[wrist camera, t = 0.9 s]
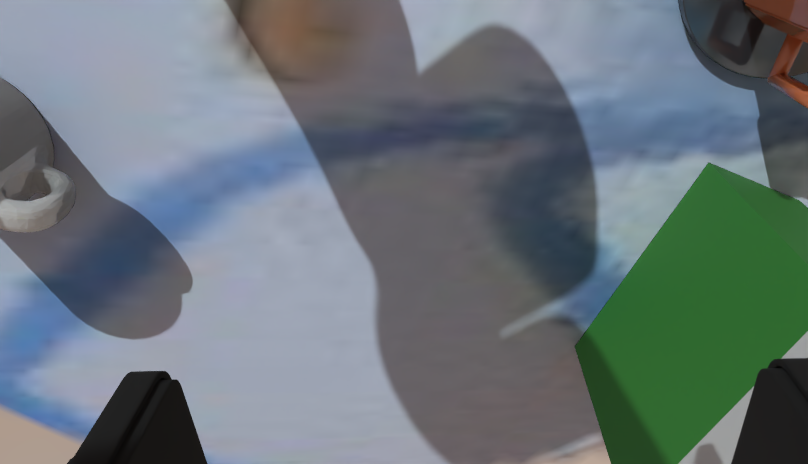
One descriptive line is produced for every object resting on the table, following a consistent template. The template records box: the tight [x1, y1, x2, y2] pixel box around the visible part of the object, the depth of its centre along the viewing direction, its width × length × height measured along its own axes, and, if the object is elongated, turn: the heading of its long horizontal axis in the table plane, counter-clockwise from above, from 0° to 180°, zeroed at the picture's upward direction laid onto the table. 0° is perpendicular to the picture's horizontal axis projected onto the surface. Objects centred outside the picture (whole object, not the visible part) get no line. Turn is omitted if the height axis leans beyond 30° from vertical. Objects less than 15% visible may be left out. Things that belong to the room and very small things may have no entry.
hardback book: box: [575, 163, 808, 464], centre depth 35 cm, size 18×7×24 cm, turn 158°
